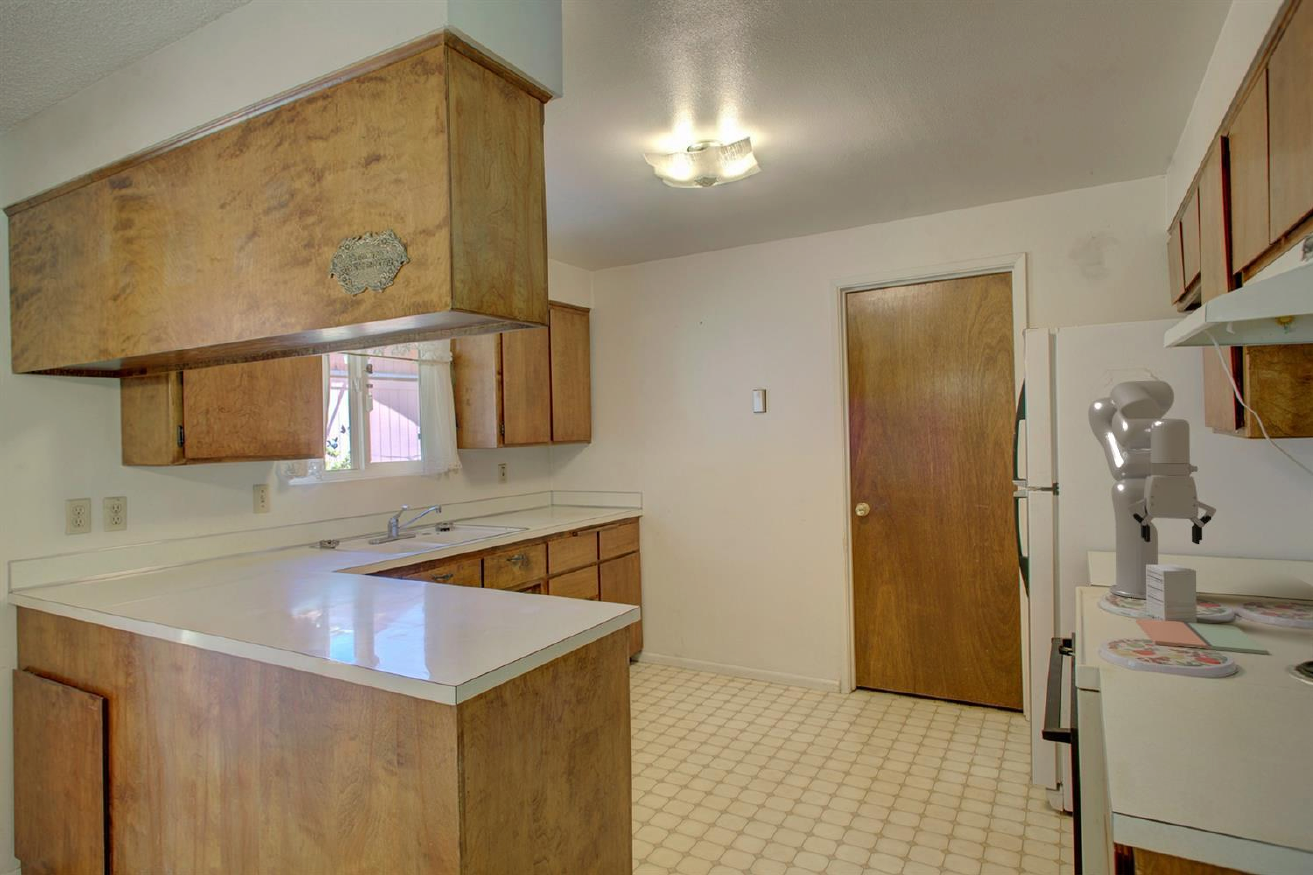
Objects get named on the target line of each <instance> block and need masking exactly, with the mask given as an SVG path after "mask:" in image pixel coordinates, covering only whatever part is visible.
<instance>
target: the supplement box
mask: <svg viewBox="0 0 1313 875" xmlns="http://www.w3.org/2000/svg"><path fill="white" fill-rule="evenodd" d="M1145 600H1146V601H1145V602H1146V612H1147V611H1149V612H1151V613H1153V614H1154V615H1155V616H1156V617H1157V618H1158V620H1164V621H1177V622H1190V623H1198V621H1197V620H1198V619H1197V618H1198V617H1197V616H1198V615H1197V611H1198V610H1197V570H1195V569H1192V568H1189V567H1186V566H1182V565H1180V564H1175V563H1173V564H1170V563H1169V564H1158V565H1146V599H1145Z"/></svg>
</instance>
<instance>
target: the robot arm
mask: <svg viewBox="0 0 1313 875" xmlns="http://www.w3.org/2000/svg"><path fill="white" fill-rule="evenodd" d="M1174 401H1175V393H1174V389H1173V387H1172V386H1171V385H1170V384H1169V383H1168V382H1166V381H1164V380H1133V381H1132V380H1131V381H1123V382H1120V383H1118V384H1116V385H1115V386H1113V388H1111V390H1110V393H1109V397H1104V398H1103V397H1102V398H1099V399H1096V400H1095V401H1093V402H1091V404H1090V405H1089V408H1088V411H1087V412H1088V422H1089V426H1090V428H1091V431H1092V433H1093V434H1094V436H1095V438H1096V440H1097V441H1098V442H1099V444H1100V445H1101V447H1102V448H1103V452H1104V455H1105V458H1106V461H1107V465H1108V469H1109V471H1110V474H1111V476H1112V478H1113V479H1114V480H1115V481H1116V482H1115V483H1114V484H1113V485H1112V487H1111V500H1112V506H1113V510H1114V520H1115V521H1114V522H1115V583H1116V584H1113V585H1110V586H1109V592H1111V593H1112V594H1114V595H1118V596H1121V597H1126V598H1131V597H1132V599H1142V600H1143V599H1144V600H1146V565H1159V533H1158V529H1157V527H1156V526H1155V524H1154V523H1153V522H1152V520H1153V519H1175V520H1180V519H1181V520H1190V522H1191V523H1193V525H1192V526H1191V542H1192V543H1193V544H1195V545H1200V541H1203V527H1205V525H1206V524H1208V523H1209V522H1210V521H1212V518H1213V517H1214V515H1215V514H1216V512H1217V509H1216V508H1215V507H1212V506H1210V505H1208V504H1206V503H1204V502H1201V501H1198V493H1197V492H1198V491H1197V487H1196V483H1195V477H1194V476H1192V474H1193V473H1197V472H1198V469H1199V468H1198V466H1197V465H1192V463H1191V458H1190V457H1191V455H1190V454H1191V453H1190V452H1191V451H1190V450H1191V448H1190V447H1191V440H1190V438H1191V437H1190V430H1191V429H1190V423H1189V422H1188V421H1187V420H1186V419H1179V418H1163V417H1164V416H1165V415H1166V414H1167V413H1168V412H1169V411H1170V409H1172V407H1173V404H1174ZM1199 508H1200V509H1202V510H1205V514H1204V515H1203V516H1201V517H1200V518H1199V517H1198V516H1199Z"/></svg>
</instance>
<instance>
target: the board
mask: <svg viewBox="0 0 1313 875" xmlns="http://www.w3.org/2000/svg"><path fill="white" fill-rule="evenodd" d="M1135 623H1136V624H1137V625H1138V626H1139V627H1140V628H1141V630H1142V631H1143V632H1144V633H1145V634H1146V636H1147V637H1148V638H1149V640H1150V641H1151V642H1152V643H1153V644H1154V645H1157V646H1167V647H1168V646H1169V647H1178V646H1194V647H1201V648H1206V649H1205V650H1212V651H1213V650H1214V651H1224V652H1236V653H1246V654H1258V655H1268V649H1266V648H1265V647H1263V646H1262V645H1261V644H1259V643H1258V642H1257V641H1255V640H1254V639H1253V638H1252V637H1250V636H1249V635H1248V634H1246V633H1245V632H1244V631H1243V630H1241V629H1240V628H1239V627H1237V626H1236V625H1227V624H1212V623H1201V622H1200V623H1199V622H1197V623H1190V622H1177V621H1164V620H1156V619H1148V618H1139V617H1138V618H1136V617H1135Z"/></svg>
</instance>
